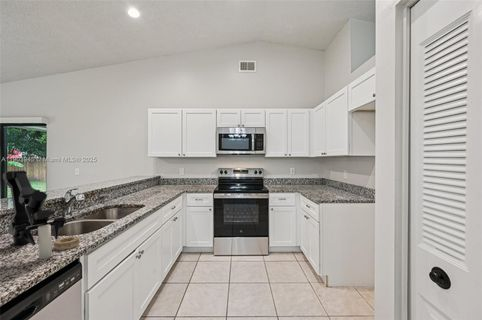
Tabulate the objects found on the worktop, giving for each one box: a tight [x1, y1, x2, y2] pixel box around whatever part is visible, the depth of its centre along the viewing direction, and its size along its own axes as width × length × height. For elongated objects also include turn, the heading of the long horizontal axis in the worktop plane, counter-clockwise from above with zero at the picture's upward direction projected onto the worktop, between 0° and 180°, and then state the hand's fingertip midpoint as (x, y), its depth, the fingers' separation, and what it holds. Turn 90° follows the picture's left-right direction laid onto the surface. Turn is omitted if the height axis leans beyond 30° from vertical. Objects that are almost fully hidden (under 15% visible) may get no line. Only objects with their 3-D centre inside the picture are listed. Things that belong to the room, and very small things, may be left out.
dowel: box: [37, 225, 53, 260], centre depth 110 cm, size 4×4×14 cm
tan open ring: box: [53, 236, 80, 251], centre depth 124 cm, size 10×10×3 cm
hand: (46, 241), depth 109 cm, fingers open, 8 cm apart
